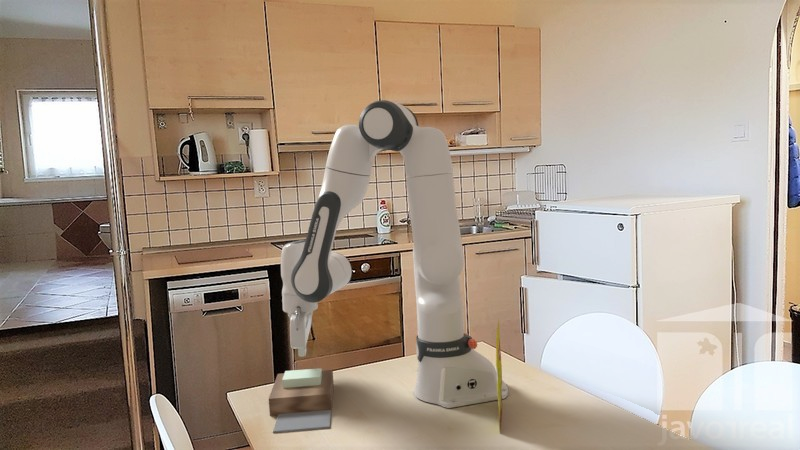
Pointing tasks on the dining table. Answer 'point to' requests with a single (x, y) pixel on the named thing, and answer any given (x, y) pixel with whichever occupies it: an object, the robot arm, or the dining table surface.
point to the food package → (499, 374)
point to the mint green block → (302, 378)
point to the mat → (302, 421)
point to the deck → (301, 396)
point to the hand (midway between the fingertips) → (302, 354)
